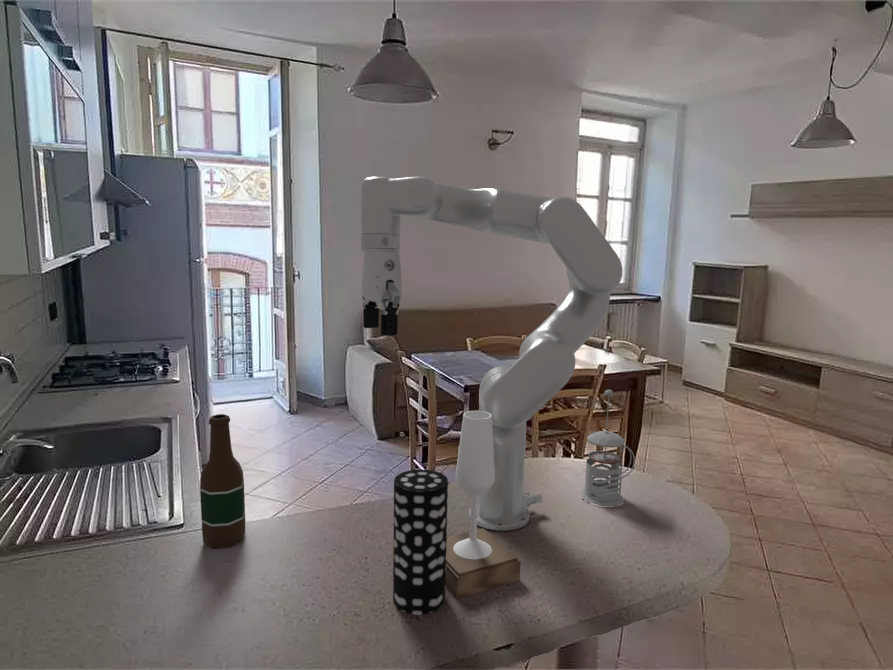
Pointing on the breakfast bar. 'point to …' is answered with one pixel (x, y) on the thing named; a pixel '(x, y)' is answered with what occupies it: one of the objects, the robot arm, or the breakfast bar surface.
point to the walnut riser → (479, 567)
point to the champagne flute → (475, 475)
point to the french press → (601, 489)
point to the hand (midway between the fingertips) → (379, 331)
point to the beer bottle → (222, 490)
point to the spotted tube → (420, 541)
